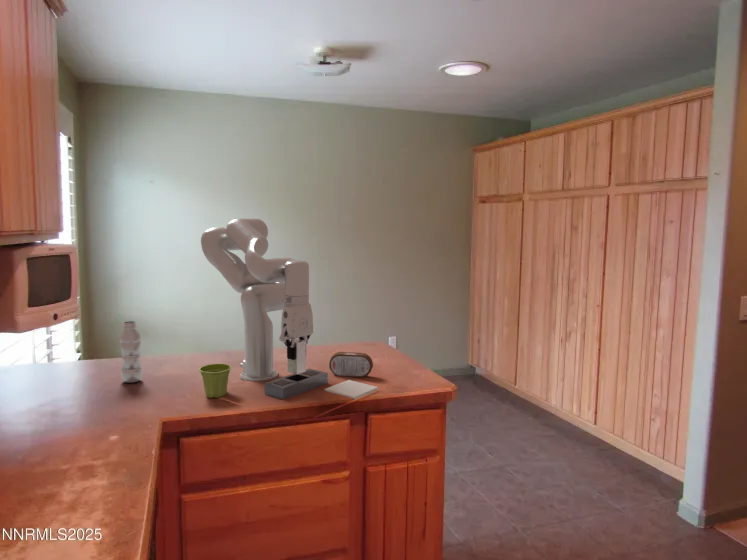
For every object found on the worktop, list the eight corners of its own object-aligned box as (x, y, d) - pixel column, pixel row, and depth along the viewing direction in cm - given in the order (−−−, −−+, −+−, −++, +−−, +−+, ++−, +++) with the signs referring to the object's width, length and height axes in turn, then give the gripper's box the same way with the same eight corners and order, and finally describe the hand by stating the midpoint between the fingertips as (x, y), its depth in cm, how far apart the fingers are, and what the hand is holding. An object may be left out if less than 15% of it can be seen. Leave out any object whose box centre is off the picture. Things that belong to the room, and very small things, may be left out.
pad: (324, 391, 169) (324, 388, 169) (348, 382, 178) (348, 379, 178) (354, 400, 162) (354, 396, 162) (377, 390, 171) (377, 387, 171)
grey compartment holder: (264, 395, 165) (264, 382, 164) (309, 380, 181) (309, 368, 180) (283, 401, 160) (283, 387, 160) (327, 384, 176) (327, 372, 176)
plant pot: (211, 402, 158) (210, 374, 157) (193, 395, 164) (193, 367, 163) (237, 395, 165) (237, 367, 164) (220, 388, 171) (219, 361, 170)
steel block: (287, 371, 169) (287, 341, 168) (296, 369, 173) (296, 338, 171) (296, 374, 167) (296, 343, 166) (305, 371, 170) (305, 340, 169)
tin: (372, 376, 186) (373, 352, 185) (371, 378, 183) (372, 354, 182) (330, 374, 188) (330, 350, 187) (328, 376, 185) (328, 353, 184)
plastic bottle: (134, 377, 181) (131, 319, 178) (147, 381, 177) (144, 321, 175) (116, 382, 175) (113, 322, 173) (129, 386, 172) (126, 325, 170)
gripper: (285, 305, 158) (285, 365, 160) (323, 298, 171) (323, 354, 174) (268, 302, 163) (268, 361, 165) (306, 295, 176) (306, 350, 178)
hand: (296, 356), depth 169 cm, fingers closed on steel block, 4 cm apart
